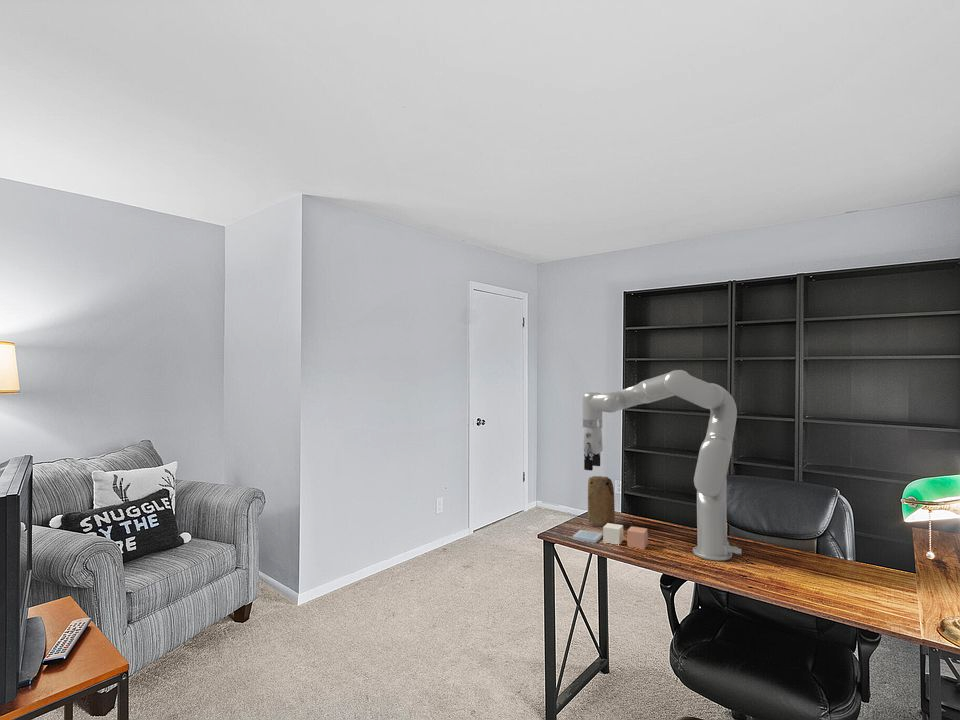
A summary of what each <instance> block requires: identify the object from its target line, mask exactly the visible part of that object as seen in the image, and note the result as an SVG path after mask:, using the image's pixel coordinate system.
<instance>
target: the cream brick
mask: <svg viewBox="0 0 960 720" xmlns="http://www.w3.org/2000/svg"><path fill="white" fill-rule="evenodd" d="M602 540H603V541H602V543H603V544H606V543H611V544H610V545H612V544H618V545H617V546H620V545H621V544H622V543H623V542H624V525H623V524H617V523H614V524H611V523H607V524H606V525H605V526H604V527H602ZM622 541H623V542H622ZM621 542H622V543H621ZM620 543H621V544H620ZM619 544H620V545H619Z"/></svg>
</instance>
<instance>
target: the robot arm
mask: <svg viewBox="0 0 960 720" xmlns="http://www.w3.org/2000/svg"><path fill="white" fill-rule="evenodd" d="M674 396H676V397H678V398H680V399H683V400H685V401H687V402H690V403H692V404H694V405H697V406H699V407H701V408H703V409H708V410H710V412H709V413H710V415H709V420H708V426H707V429H706V435H705V438H704V440H703V441H702V443H701V445H700V448H699V451H698V458H697V462H696V466H695V472H694V476H693V484H694V487H695V489H696V527H697V528H696V531H697V537H696V538H697V541H696V542H697V543H696V544H697V545H696V546H694V547H692V553H693V554H694V555H695V556H696V557H700V558H702V559H705V560H709V561H729V560H731V559H732V558H733V554H735V555H742V548H739V547H738V546H733V545H731V544H730V541H728V533H727V532H728V525H727V522H728V521H727V520H728V519H727V516H728V515H727V510H728V509H727V486H728V485H727V484H728V483H727V475H728V470H729V467H730V461H731V456H732V454H733V453H732V452H733V441H734V436H735V431H736V423H737V418H738V417H737V416H738V409H737V404H736V402H735V399H734V397H733V396H732V395H731V394H730V392H729V391H728V390H726V389H725V388H724V387H723V386H721V385H719V384H716V383H713V382H711V383H710V382H707V381H705V380H702V379H700V378H697V377H695V376H692V374H691V375H690V374H689V373H688V372H687V371H685V370H683V369H674V370H672V371H670V372H667V373H664V374H663V373H662V374H660V375H657V376H654V377H651V378H647V379H645V380H642V381H640V382H639V383H637V384H635V385H633V386H632V385H631V386H630V387H627V388H623V389H621V390H617V391H611V392H607V393H600V392H584V393H583V395H582V428H583V429H584V431H583V459H584V460H583V463H584V464H583V470H584V471H593V469H594V467H601V453H602V452H603V449H604V447H603V446H604V445H603V432H602V429H603V412H604V413H611V414H612V413H616V412H618V411H622V410H625V409H628V408H631V407H635V406H639V405H643V404H651V403H653V402H657V401H661V400H664V399H668V398H670V397H674Z"/></svg>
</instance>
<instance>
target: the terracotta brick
mask: <svg viewBox="0 0 960 720" xmlns="http://www.w3.org/2000/svg"><path fill="white" fill-rule="evenodd" d="M626 532H627V533H626V535H627V537H626V538H627V541H626V542H627V543H626V544H627V546H629V547H628V548H631V547H636V548H635V549H637V548H641V549H640V550H643V549H644V550H645V549H646V547H648V545H649V543H648V541H649V540H648V538H649V537H648V536H649V535H648V528H645V527H639V526H630V527H629V528H628V529H627V531H626Z"/></svg>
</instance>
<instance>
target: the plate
mask: <svg viewBox="0 0 960 720" xmlns="http://www.w3.org/2000/svg"><path fill="white" fill-rule="evenodd" d="M602 538H603V532H597V531H592V530H591V531H590V530H586V529H585V530H583V529H579V530H578V531H577V532H576V533H574V534H573V535H572V540H575V541H580V542H581V541H582V542H588V543H592V544H596V543H598V541H600V539H602Z"/></svg>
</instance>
